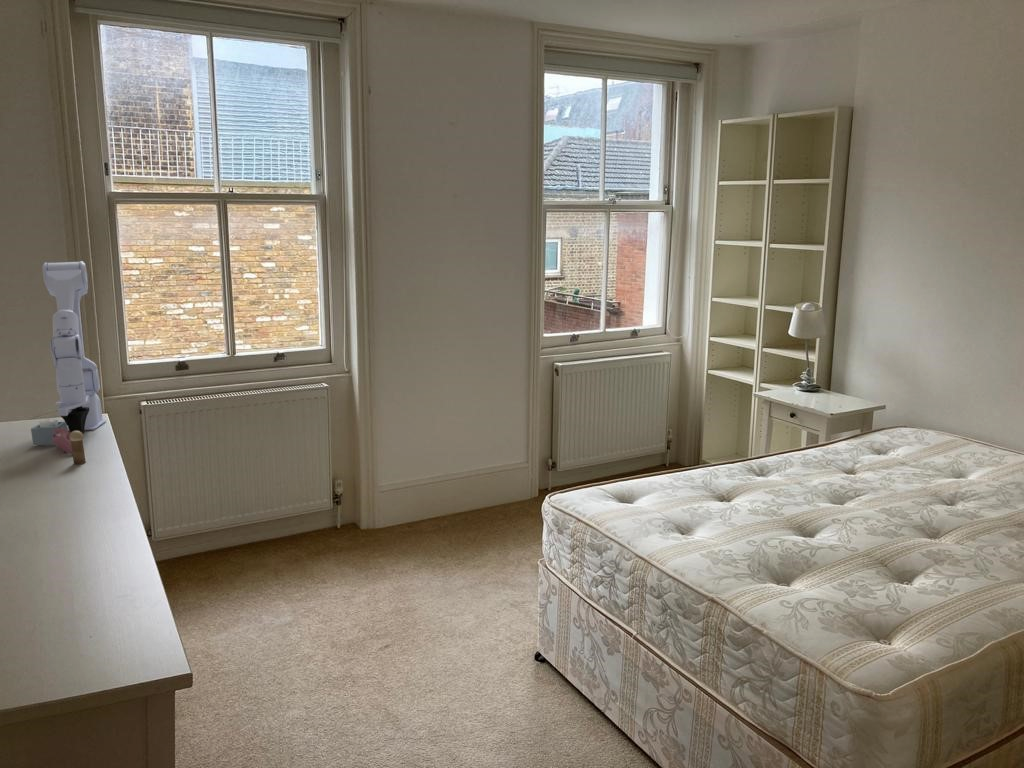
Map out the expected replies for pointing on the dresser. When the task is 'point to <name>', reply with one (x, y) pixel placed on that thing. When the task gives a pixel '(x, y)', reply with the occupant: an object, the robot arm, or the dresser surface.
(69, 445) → the video game controller
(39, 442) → the hollow square tube
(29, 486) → the dresser surface
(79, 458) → the post
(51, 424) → the dome
